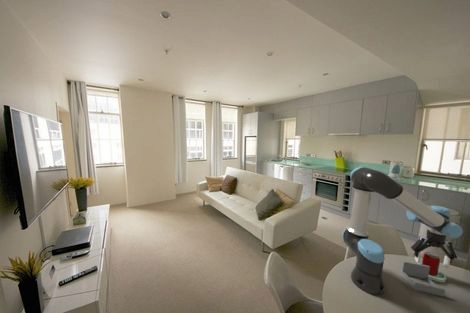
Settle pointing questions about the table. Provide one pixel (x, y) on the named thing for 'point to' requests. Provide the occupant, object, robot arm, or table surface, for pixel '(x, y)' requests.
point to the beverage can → (431, 262)
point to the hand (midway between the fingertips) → (431, 264)
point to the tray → (439, 278)
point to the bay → (421, 272)
